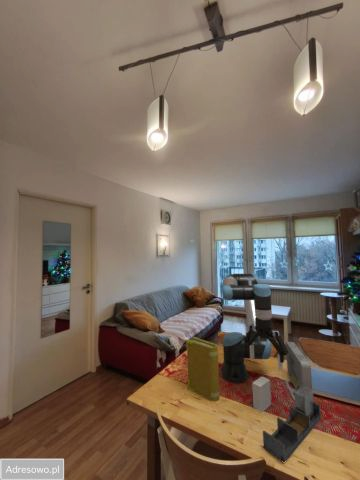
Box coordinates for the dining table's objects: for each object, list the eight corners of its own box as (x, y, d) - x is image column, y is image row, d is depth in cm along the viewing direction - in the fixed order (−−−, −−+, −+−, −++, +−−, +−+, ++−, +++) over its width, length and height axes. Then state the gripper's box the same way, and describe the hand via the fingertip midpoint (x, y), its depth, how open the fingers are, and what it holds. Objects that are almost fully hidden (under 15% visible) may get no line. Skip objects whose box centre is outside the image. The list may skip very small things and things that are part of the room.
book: (187, 389, 113) (186, 340, 115) (195, 383, 118) (194, 336, 120) (214, 403, 102) (212, 349, 103) (222, 396, 106) (220, 344, 108)
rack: (263, 447, 78) (261, 414, 79) (301, 408, 97) (300, 382, 97) (284, 463, 72) (282, 427, 73) (320, 418, 91) (318, 390, 91)
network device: (319, 411, 95) (316, 364, 96) (297, 409, 97) (295, 363, 98) (299, 378, 120) (297, 341, 121) (282, 376, 122) (280, 340, 123)
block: (253, 407, 98) (252, 382, 99) (263, 400, 103) (262, 376, 104) (261, 412, 95) (260, 386, 96) (271, 404, 100) (269, 380, 101)
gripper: (236, 314, 108) (238, 357, 107) (287, 325, 90) (290, 378, 89) (244, 311, 113) (246, 352, 112) (294, 321, 95) (297, 370, 94)
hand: (265, 363), depth 100 cm, fingers open, 13 cm apart
